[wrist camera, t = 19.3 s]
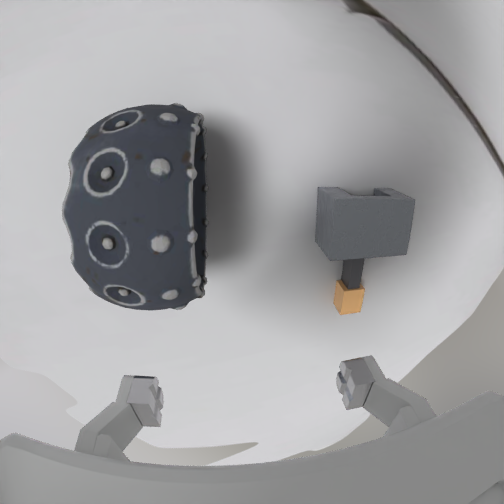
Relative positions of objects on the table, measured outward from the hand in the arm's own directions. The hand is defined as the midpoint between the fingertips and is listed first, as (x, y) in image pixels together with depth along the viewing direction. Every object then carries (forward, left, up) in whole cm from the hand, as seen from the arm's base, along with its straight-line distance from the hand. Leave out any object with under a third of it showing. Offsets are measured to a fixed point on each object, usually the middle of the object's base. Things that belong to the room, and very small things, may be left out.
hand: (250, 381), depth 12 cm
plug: (+8, +18, -29) cm, 35 cm away
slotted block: (+2, +18, -29) cm, 34 cm away
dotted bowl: (-3, -8, -29) cm, 31 cm away
